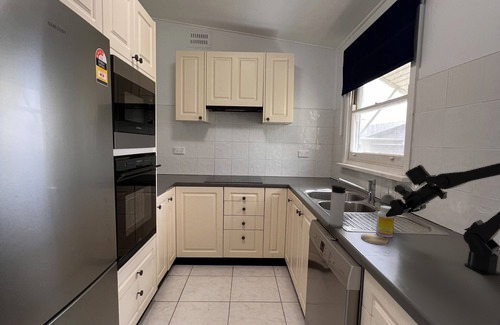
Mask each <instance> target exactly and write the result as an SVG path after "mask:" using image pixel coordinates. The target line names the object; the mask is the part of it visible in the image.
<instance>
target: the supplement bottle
mask: <svg viewBox="0 0 500 325" xmlns="http://www.w3.org/2000/svg"><path fill="white" fill-rule="evenodd" d="M390 208H391V207H389V206H380V208H379V209H380V210H379V211H378V212H377V216H376V227H375V233H376V234H375V235H378V236H381V237H384V238H392V237H393V235H394V226H395V225H394V224H395V216H393V217H386V214H387V212H388V211H389V210H390Z"/></svg>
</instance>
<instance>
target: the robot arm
mask: <svg viewBox="0 0 500 325" xmlns="http://www.w3.org/2000/svg"><path fill="white" fill-rule="evenodd" d="M404 175H405V176H406V178H408V180H409V181H410V182H411V183H412V184H413V186H418V187H419V188H418V189H416V190H413V189H412V188H411V187H409V186H407V184H405V183H398V184H396V185H395V186H394V187H393V188H394V190H393V191H394V192H395V193H397V194H399V195H400V196H401V198H395V199H393V200H391V201H390V205H391V208H390V210H389V211H388V212H387V214H386V217H393V216H394V217H398V216H399V217H400V216H404V215H406V214H411V213H417V212H421V211H423V210H425V209H427V204H429V203H430V202H431V201H433V200H434V199H436V198H439V199H440V200H445V199H447V198H448V195H447V194H448V191H444V190H450V189H454V188H457V187H461V186H462V185H466V184H467V183H471V182H473V181H477V180H482V179H489V178H492V177H497V176H500V162H499V163H494V164H490V165H486V166H481V167H478V168H477V167H476V168H472V169H470V170H465V171H457V172H456V171H455V172H454V171H453V172H445V173H444V172H443V173H439V174H437V175H436V174H432V175H431V174H430V173H429V172H428V171H427V170H426V168H425V167H424V166H423V165H422V164H418V165H416V166H414V167H412V168H410V169H408V170H407V171H405V173H404ZM499 232H500V211H498V212H497V213H496V214H494V215H493V216H491V217H490V218H489V219H487V220H486V221H485V222H484V221H483V220H482V219H478V220H476V221H474V222H473V223H472V224H471V225H470V226H469V227H466V228H465V229H464V233H463V235H462V236H463V240H464V242H465V243H466V244H467V245H468V249H469V251H468V255H467V256H468V258H467V262H466V263H463V264H464V266H466V267H467V268H470V269H472V270H473V271H475V272H477V273H479V274H481V275H500V271H498V270H497V269H498V262H499V255H497V254H496V253H497V252H499V250H500V245H499V243H498V242H496V240H495V239H494V238H495V237H497V235H498V233H499Z"/></svg>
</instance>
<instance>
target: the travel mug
mask: <svg viewBox="0 0 500 325" xmlns="http://www.w3.org/2000/svg"><path fill="white" fill-rule="evenodd" d="M345 203H346V187H343V186H339V185H334V184H332V186H331V194H330V210H329V224H328V225H329V226H330V227H331V228H337V229H339V228H343V226H344V215H345V205H346V204H345Z"/></svg>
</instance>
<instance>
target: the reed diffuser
mask: <svg viewBox="0 0 500 325" xmlns="http://www.w3.org/2000/svg"><path fill="white" fill-rule="evenodd" d="M387 188H388V189H387V194H384V195H382V197H381V198H380V201H379V204H380V207H381V206H389V207H391V205H390V201H391V200H393V199H396V198H395V196H393V195H391V194H390V185H388V187H387Z"/></svg>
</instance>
